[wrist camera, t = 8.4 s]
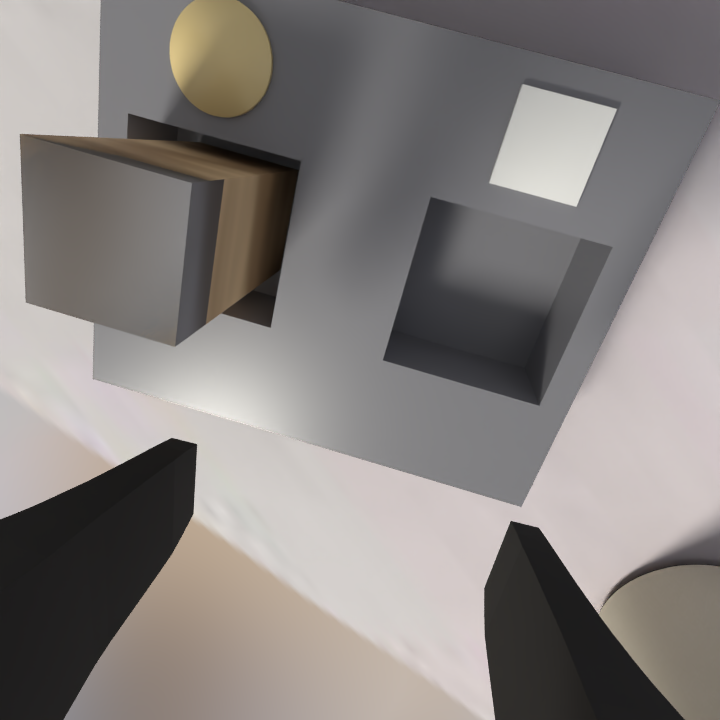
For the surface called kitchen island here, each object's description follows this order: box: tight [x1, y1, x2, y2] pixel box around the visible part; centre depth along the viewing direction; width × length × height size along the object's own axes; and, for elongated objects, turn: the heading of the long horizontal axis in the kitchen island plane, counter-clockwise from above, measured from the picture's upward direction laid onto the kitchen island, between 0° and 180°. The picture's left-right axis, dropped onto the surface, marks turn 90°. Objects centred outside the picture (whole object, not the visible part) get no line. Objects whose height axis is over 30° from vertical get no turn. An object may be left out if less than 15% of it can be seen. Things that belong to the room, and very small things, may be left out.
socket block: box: [93, 0, 720, 507], centre depth 17 cm, size 16×13×4 cm
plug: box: [20, 134, 299, 347], centre depth 14 cm, size 4×4×8 cm
